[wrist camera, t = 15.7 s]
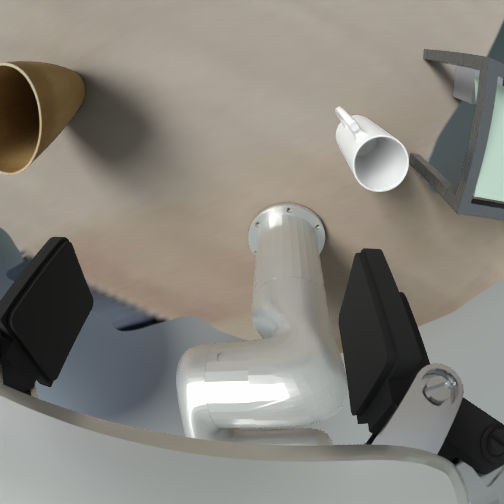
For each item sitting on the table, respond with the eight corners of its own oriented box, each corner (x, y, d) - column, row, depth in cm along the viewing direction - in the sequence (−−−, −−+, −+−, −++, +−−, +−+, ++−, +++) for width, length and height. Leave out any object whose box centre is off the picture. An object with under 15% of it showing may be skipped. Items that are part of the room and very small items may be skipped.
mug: (386, 141, 41) (418, 171, 31) (351, 165, 44) (373, 202, 34) (347, 85, 37) (373, 98, 27) (309, 113, 40) (322, 134, 30)
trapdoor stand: (490, 177, 41) (543, 226, 28) (408, 162, 42) (457, 213, 29) (509, 81, 31) (575, 107, 18) (424, 49, 31) (489, 57, 19)
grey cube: (497, 113, 30) (503, 75, 27) (471, 103, 30) (475, 63, 27) (478, 104, 35) (482, 70, 31) (452, 96, 35) (456, 60, 31)
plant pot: (25, 80, 36) (-43, 105, 23) (86, 32, 32) (14, 38, 19) (56, 150, 44) (-4, 192, 31) (120, 111, 40) (59, 144, 27)
